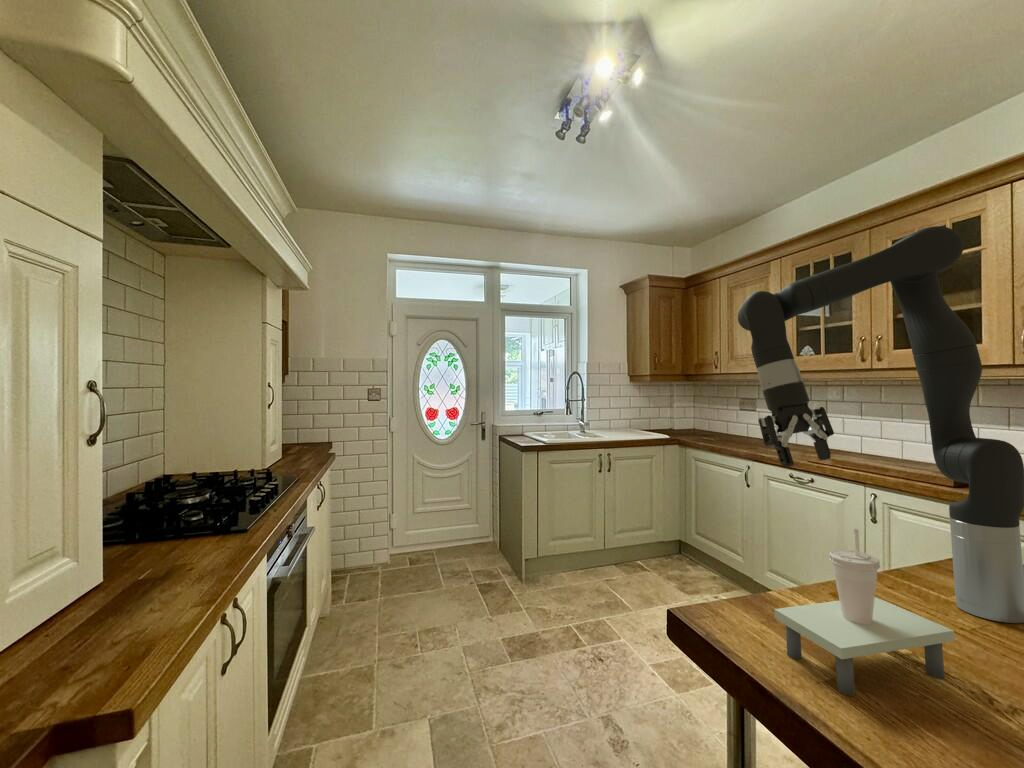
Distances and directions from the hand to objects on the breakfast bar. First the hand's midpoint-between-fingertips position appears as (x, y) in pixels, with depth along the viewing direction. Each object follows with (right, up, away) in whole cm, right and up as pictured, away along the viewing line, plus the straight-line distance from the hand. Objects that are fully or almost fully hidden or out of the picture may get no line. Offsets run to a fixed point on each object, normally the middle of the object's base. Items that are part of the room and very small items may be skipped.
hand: (807, 463), depth 87 cm
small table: (-4, -28, -19) cm, 34 cm away
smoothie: (-4, -21, -18) cm, 28 cm away
